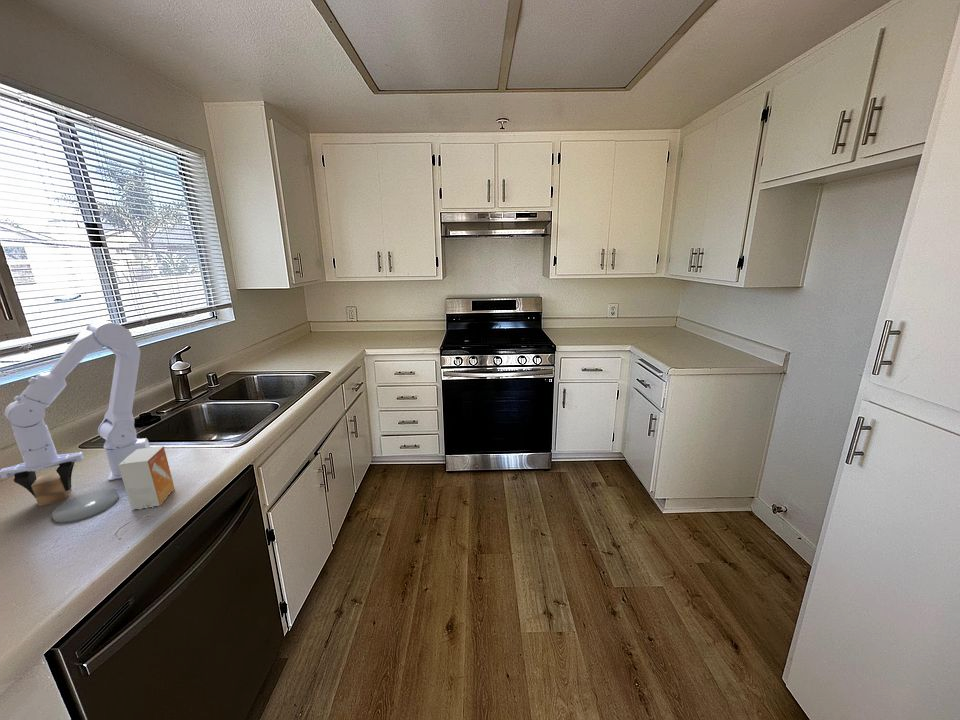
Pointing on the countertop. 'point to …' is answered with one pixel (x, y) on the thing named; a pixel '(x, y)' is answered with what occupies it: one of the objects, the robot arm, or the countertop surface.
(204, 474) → the countertop surface
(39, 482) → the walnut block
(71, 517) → the slate dish
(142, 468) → the small box
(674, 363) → the countertop surface
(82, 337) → the robot arm
